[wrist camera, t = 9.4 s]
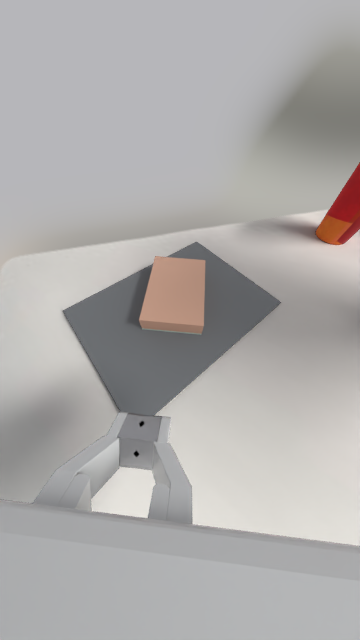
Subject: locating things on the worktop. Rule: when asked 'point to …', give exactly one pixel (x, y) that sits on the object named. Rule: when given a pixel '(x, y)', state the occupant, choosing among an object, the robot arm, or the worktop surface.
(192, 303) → the tile
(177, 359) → the mat
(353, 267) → the worktop surface
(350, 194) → the coffee cup
